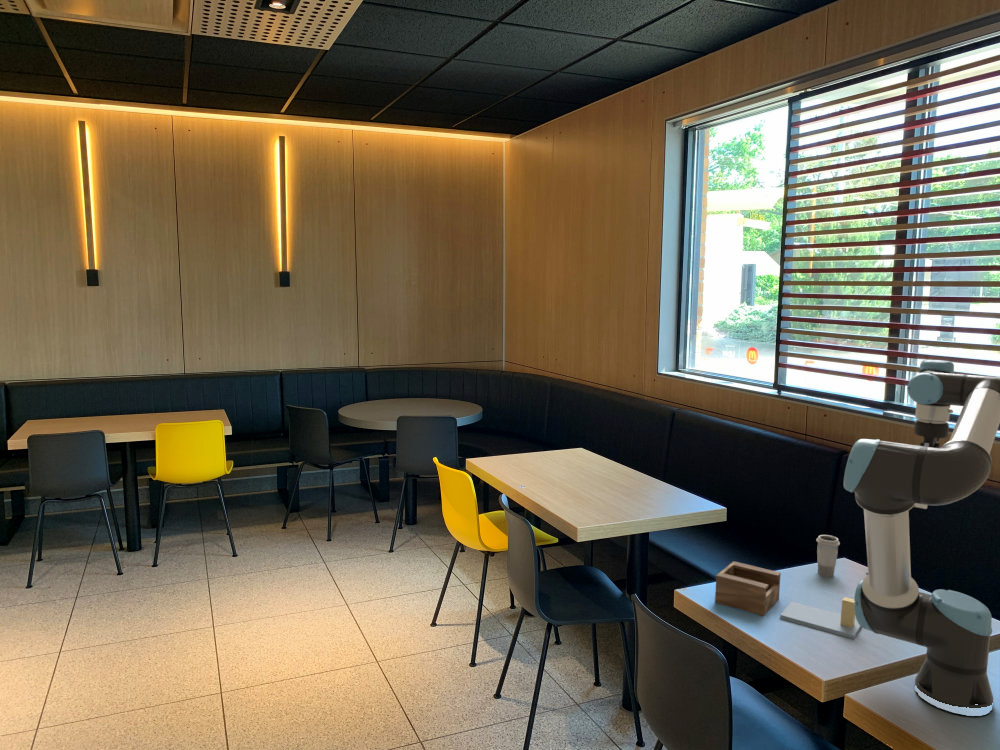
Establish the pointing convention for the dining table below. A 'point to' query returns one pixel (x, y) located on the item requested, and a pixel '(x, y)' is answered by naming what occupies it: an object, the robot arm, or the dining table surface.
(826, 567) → the cup
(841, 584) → the dining table surface
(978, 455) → the robot arm
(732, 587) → the case
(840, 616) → the lid
